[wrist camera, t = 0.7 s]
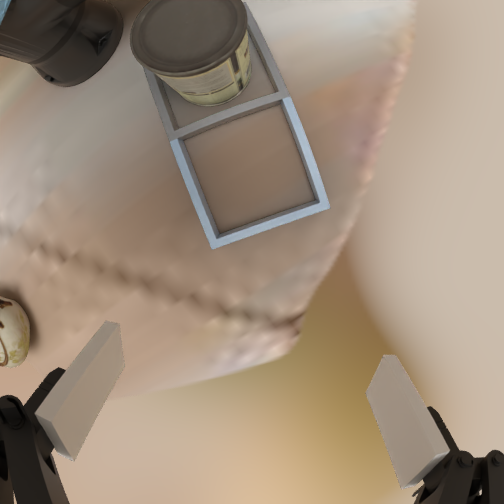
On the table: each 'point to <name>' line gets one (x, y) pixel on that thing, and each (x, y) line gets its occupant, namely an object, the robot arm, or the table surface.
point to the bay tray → (226, 116)
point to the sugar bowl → (13, 333)
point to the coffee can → (195, 47)
